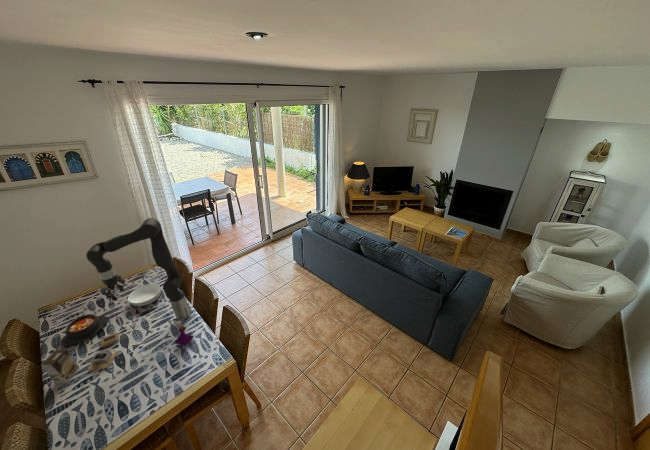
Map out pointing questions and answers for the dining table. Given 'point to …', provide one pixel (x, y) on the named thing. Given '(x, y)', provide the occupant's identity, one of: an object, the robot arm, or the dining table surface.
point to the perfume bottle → (183, 335)
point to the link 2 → (96, 359)
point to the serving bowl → (144, 295)
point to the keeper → (104, 365)
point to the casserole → (83, 328)
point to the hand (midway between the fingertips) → (118, 295)
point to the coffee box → (60, 366)
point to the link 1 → (110, 340)
